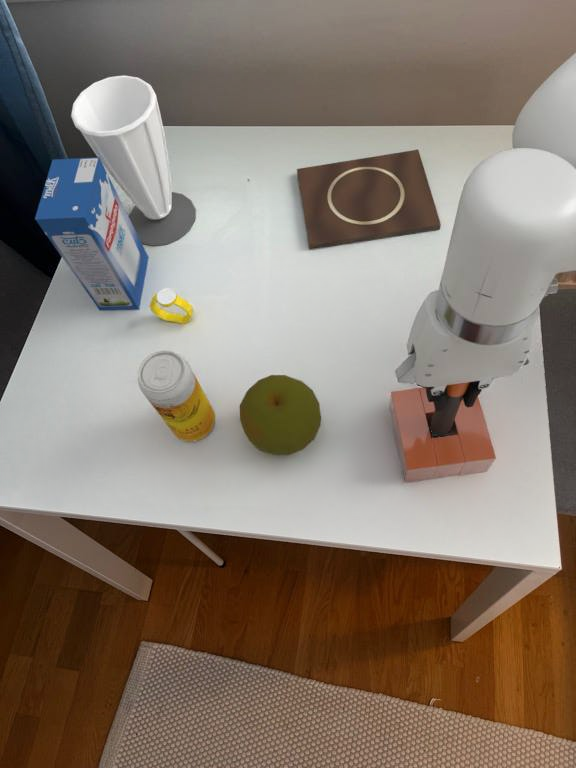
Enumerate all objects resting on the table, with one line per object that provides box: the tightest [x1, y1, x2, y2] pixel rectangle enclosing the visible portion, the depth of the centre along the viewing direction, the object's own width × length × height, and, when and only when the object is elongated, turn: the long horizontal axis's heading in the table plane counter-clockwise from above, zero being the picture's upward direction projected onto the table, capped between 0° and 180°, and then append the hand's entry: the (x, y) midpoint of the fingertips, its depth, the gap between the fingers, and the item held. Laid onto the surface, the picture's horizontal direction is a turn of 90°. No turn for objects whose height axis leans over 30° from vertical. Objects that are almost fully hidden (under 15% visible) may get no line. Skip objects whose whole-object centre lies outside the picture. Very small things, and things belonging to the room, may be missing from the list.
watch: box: [149, 287, 194, 325], centre depth 83 cm, size 6×3×6 cm, turn 78°
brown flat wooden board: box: [296, 149, 442, 250], centre depth 91 cm, size 20×16×1 cm
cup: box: [70, 75, 197, 247], centre depth 85 cm, size 12×12×22 cm
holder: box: [388, 387, 497, 484], centre depth 71 cm, size 10×10×5 cm
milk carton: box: [34, 156, 149, 311], centre depth 81 cm, size 10×6×20 cm, turn 178°
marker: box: [429, 382, 469, 438], centre depth 63 cm, size 2×2×14 cm
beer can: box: [137, 350, 216, 443], centre depth 71 cm, size 6×6×15 cm
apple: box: [238, 374, 322, 456], centre depth 71 cm, size 10×10×11 cm
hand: (450, 396), depth 62 cm, fingers closed on marker, 2 cm apart
